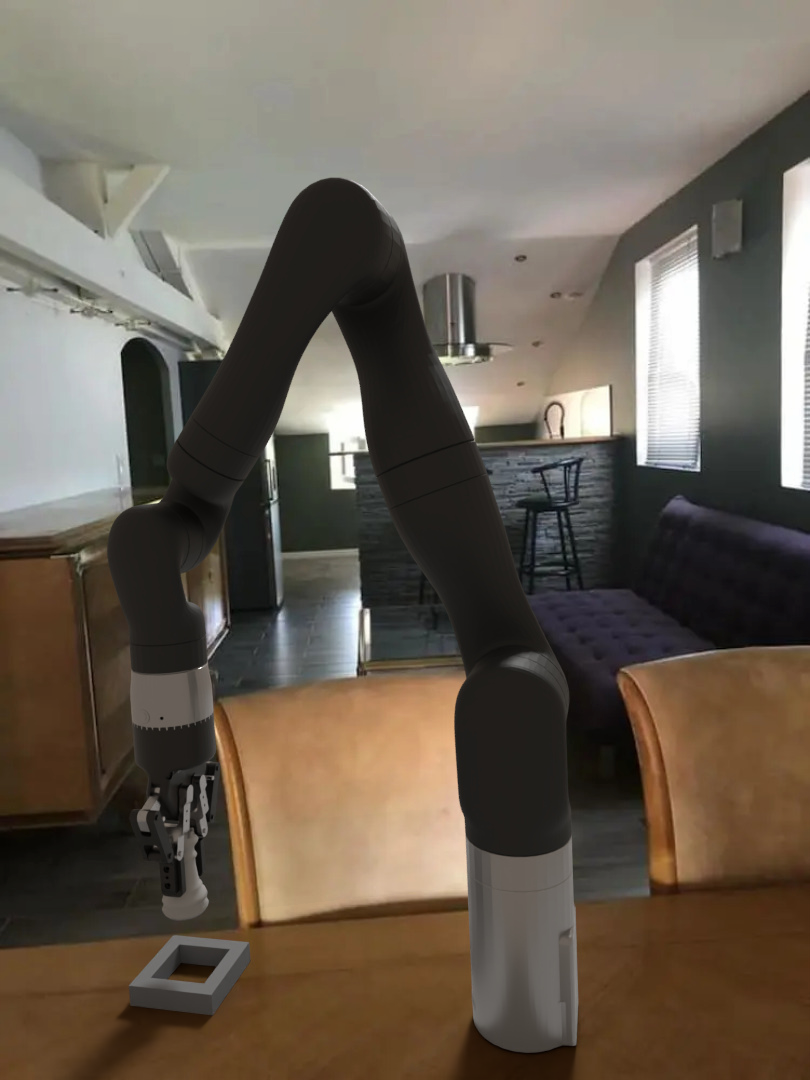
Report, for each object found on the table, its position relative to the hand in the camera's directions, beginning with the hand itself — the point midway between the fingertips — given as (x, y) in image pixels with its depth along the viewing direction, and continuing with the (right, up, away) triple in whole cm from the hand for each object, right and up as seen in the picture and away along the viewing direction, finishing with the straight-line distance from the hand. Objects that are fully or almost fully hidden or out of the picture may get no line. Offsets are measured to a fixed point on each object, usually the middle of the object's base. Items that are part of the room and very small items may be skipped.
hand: (184, 883), depth 81 cm
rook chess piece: (0, -3, 0) cm, 3 cm away
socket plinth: (+1, -10, +1) cm, 10 cm away
